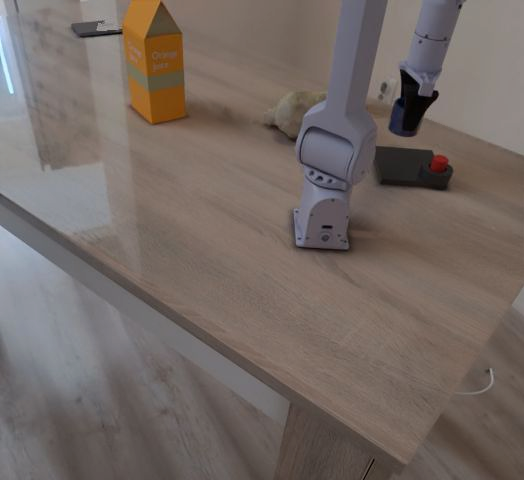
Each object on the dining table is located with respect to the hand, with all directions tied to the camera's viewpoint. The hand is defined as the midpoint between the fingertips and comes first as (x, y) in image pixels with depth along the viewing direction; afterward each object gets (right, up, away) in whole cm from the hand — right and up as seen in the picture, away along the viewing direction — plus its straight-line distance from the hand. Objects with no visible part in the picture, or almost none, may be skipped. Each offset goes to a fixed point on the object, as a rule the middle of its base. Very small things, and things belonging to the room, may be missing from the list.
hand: (406, 122), depth 84 cm
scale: (+1, -7, +5) cm, 8 cm away
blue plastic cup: (0, -1, +1) cm, 1 cm away
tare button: (+6, -8, 0) cm, 10 cm away
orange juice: (-46, +8, +12) cm, 49 cm away
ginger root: (-17, +4, +12) cm, 21 cm away
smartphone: (-66, +43, +39) cm, 88 cm away
